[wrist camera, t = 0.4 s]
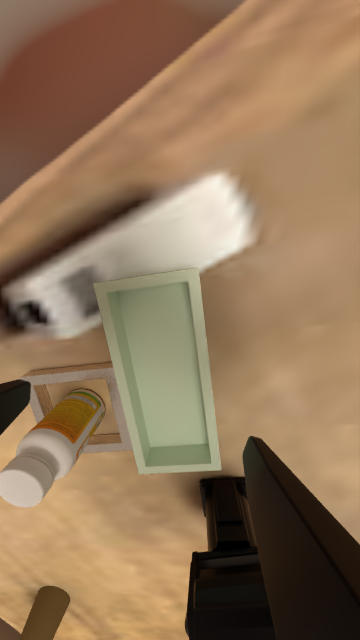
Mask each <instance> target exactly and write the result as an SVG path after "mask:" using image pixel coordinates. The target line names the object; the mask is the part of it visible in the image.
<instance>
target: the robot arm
mask: <svg viewBox="0 0 360 640" xmlns="http://www.w3.org/2000/svg"><path fill="white" fill-rule="evenodd" d="M30 395H31V383H30V382H29V381H25V380H20V379H18V380H14V381H10V382H6V383H2V384H0V435H1V434H2V433H3V432H4V431H5V430H6V429H7V427H8V426H9V425H10V424H11V423H12V422H13V421H14V420H15V419H16V417H17V416H18V415H19V414H20V413H21V412H22V411H23V410H24V409H25V407H26V406H27V405H28V403H29V401H30ZM243 465H244V473H245V478H232V479H210V480H201V481H200V490H201V496H202V503H203V510H204V516H205V517H206V524H207V540H208V551H207V552H197V551H196V552H193V553H192V562H191V567H190V580H189V592H188V604H187V613H186V619H185V630H186V633H187V635H188V637H189V640H360V544H359V543H358V542H357V541H356V540H355V539H354V538H353V537H352V536H351V535H350V534H349V533H348V532H347V530H346V529H345V528H344V527H343V526H342V525H341V524H340V523H339V522H338V521H337V520H336V519H335V518H334V516H333V515H332V514H331V513H330V512H329V511H328V510H327V509H326V508H325V507H324V506H323V505H322V504H321V503H320V501H319V500H318V499H317V498H316V497H315V496H314V495H313V494H312V493H311V492H310V491H309V490H308V489H307V487H306V486H305V485H304V484H303V483H302V482H301V481H300V480H299V479H298V478H297V477H296V476H295V475H294V474H293V472H292V471H291V470H290V469H289V468H288V467H287V466H286V465H285V464H284V463H283V462H282V461H281V460H280V458H279V457H278V456H277V455H276V454H275V453H274V452H273V451H272V450H271V449H270V448H269V447H268V446H267V445H266V443H265V442H264V441H263V440H262V439H260V438H257V437H253V436H250V437H249V438H248V441H247V443H246V446H245V449H244V451H243Z"/></svg>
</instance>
